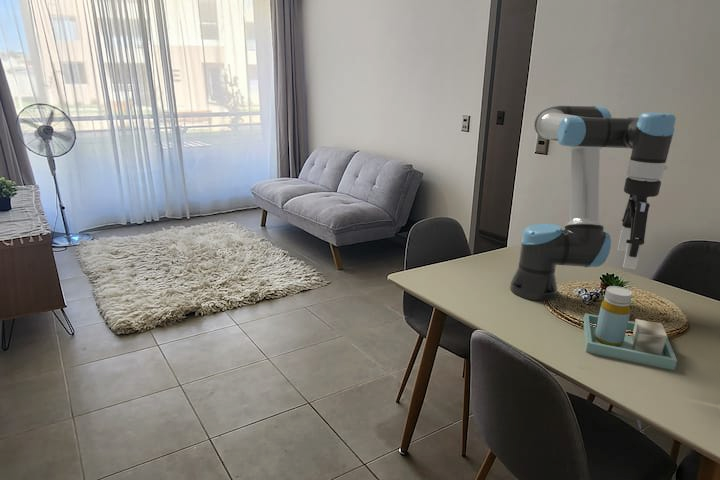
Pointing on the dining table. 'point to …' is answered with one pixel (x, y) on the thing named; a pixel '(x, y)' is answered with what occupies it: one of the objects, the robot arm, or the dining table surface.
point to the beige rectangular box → (648, 337)
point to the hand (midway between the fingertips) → (625, 259)
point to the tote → (626, 347)
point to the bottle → (614, 316)
